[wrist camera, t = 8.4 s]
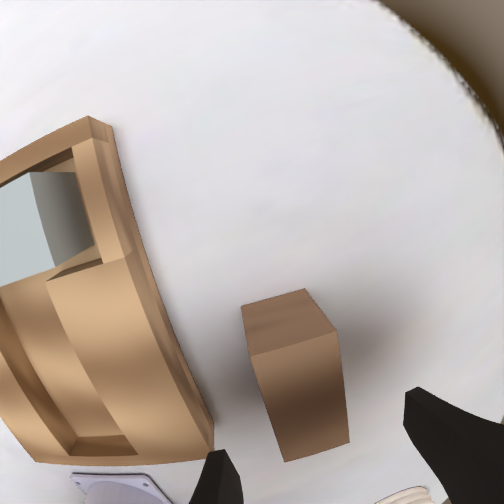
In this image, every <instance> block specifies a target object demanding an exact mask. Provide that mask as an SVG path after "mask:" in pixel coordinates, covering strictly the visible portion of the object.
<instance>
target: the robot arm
mask: <svg viewBox="0 0 504 504" xmlns="http://www.w3.org/2000/svg"><path fill="white" fill-rule="evenodd" d="M403 426H404V428H405V430H406V431H407V433H408V435H409V437H410V439H411V441H412V443H413V444H414V446H415V447H416V449H417V450H418V451H419V453H420V454H421V456H422V457H423V458H424V460H425V461H426V462H427V464H428V465H429V466H430V468H431V469H432V471H433V472H434V473H435V475H436V476H437V477H438V479H439V481H440V482H441V484H442V485H443V487H444V489H445V491H446V493H447V495H448V497H449V499H450V501H451V503H452V504H504V425H503V424H499V423H496V422H492V421H489V420H486V419H483V418H480V417H478V416H475V415H473V414H470V413H468V412H466V411H464V410H462V409H460V408H458V407H455V406H453V405H451V404H449V403H448V402H446V401H444V400H442V399H440V398H438V397H436V396H435V395H433V394H431V393H429V392H428V391H426V390H424V389H422V388H420V387H416V388H414V389H412V390H410V391H408V392H405V408H404V420H403ZM70 479H71V480H72V481H73V482H74V483H75V484H76V485H77V486H78V487H79V488H80V489H81V490H82V491H83V492H84V493H85V494H86V498H85V501H84V504H172V503H171V502H170V501H169V500H168V499H167V498H166V497H165V496H164V495H163V494H162V492H161V491H160V490H159V489H158V488H157V487H156V486H155V484H154V483H153V482H152V481H151V480H150V479H149V478H148V477H147V476H145V475H83V474H71V475H70ZM189 504H244V499H243V492H242V486H241V481H240V476H239V474H238V473H237V471H236V469H235V467H234V465H233V464H232V462H231V460H230V458H229V456H228V454H227V452H226V451H225V449H223V450H217V451H211V452H209V453H208V454H207V457H206V461H205V464H204V467H203V470H202V473H201V476H200V478H199V481H198V484H197V486H196V488H195V491H194V493H193V496H192V498H191V500H190V502H189Z"/></svg>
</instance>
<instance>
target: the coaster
mask: <svg viewBox="0 0 504 504" xmlns="http://www.w3.org/2000/svg"><path fill="white" fill-rule="evenodd" d="M375 504H435V502H433V501H432V499H431V496H430V495H429V494H428V491H427V490H426V489H425V488H423V487H414V488H409V489H406V490H403V491H400V492H398V493H395V494H393V495H391V496H389V497H387V498H385V499H383V500H381V501H379V502H377V503H375Z"/></svg>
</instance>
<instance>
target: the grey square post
mask: <svg viewBox="0 0 504 504" xmlns="http://www.w3.org/2000/svg"><path fill="white" fill-rule="evenodd" d="M93 245H95V244H94V241H93V238H92V235H91V232H90V228H89V225H88V222H87V218H86V215H85V211H84V208H83V204H82V200H81V197H80V193H79V189H78V185H77V181H76V177H75V172H29V173H27V174H25V175H23V176H21V177H19V178H17V179H16V180H14V181H12V182H10V183H8V184H7V185H5V186H3V187H1V188H0V287H1V286H4V285H7V284H10V283H12V282H15V281H18V280H21V279H23V278H26V277H29V276H32V275H35V274H38V273H41V272H43V271H46V270H49V269H52V268H55V267H57V266H59V265H60V264H62V263H64V262H65V261H67V260H69V259H70V258H72V257H74V256H76V255H77V254H79V253H81V252H83V251H84V250H86V249H88V248H90V247H91V246H93Z"/></svg>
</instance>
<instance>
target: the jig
mask: <svg viewBox="0 0 504 504" xmlns="http://www.w3.org/2000/svg"><path fill="white" fill-rule="evenodd" d="M29 172H75V177H76V181H77V185H78V189H79V193H80V197H81V200H82V204H83V208H84V211H85V215H86V218H87V222H88V225H89V228H90V232H91V235H92V238H93V241H94V244H95V245H93V246H91V247H90V248H88V249H86V250H84V251H83V252H81V253H79V254H77V255H76V256H74V257H72V258H70V259H69V260H67V261H65V262H64V263H62V264H60V265H59V266H57V267H55V268H52V269H49V270H46V271H43V272H41V273H38V274H35V275H32V276H29V277H26V278H23V279H21V280H18V281H15V282H12V283H10V284H7V285H4V286H1V287H0V417H1V418H2V420H3V421H4V423H5V424H6V425H7V427H8V428H9V430H10V431H11V432H12V434H13V435H14V436H15V437H16V439H17V440H18V441H19V443H20V444H21V445H22V446H23V448H24V449H25V450H26V451H27V453H28V454H29V455H30V456H31V457H32V458H33V460H34V461H35V462H40V463H50V464H61V465H78V466H136V465H153V464H166V463H176V462H185V461H193V460H200V459H206V457H207V454H208V453H209V452H211V451H214V422H213V420H212V418H211V416H210V414H209V412H208V410H207V408H206V406H205V403H204V401H203V399H202V397H201V395H200V393H199V390H198V388H197V386H196V384H195V382H194V379H193V377H192V375H191V372H190V370H189V368H188V365H187V363H186V361H185V358H184V356H183V354H182V351H181V349H180V346H179V344H178V341H177V339H176V336H175V334H174V331H173V329H172V326H171V324H170V321H169V318H168V316H167V313H166V310H165V308H164V305H163V302H162V300H161V297H160V294H159V291H158V288H157V286H156V283H155V280H154V277H153V274H152V271H151V268H150V265H149V262H148V259H147V256H146V253H145V250H144V247H143V244H142V241H141V237H140V234H139V231H138V227H137V224H136V221H135V217H134V214H133V210H132V207H131V203H130V200H129V196H128V192H127V189H126V185H125V181H124V177H123V173H122V169H121V165H120V161H119V157H118V153H117V149H116V144H115V140H114V135H113V131H112V126H110V125H107V124H105V123H103V122H101V121H99V120H97V119H94V118H92V117H90V116H86V117H83V118H81V119H79V120H77V121H75V122H72V123H70V124H68V125H66V126H64V127H62V128H60V129H58V130H56V131H54V132H52V133H50V134H48V135H46V136H44V137H42V138H40V139H38V140H36V141H34V142H33V143H31V144H29V145H27V146H25V147H23V148H22V149H20V150H18V151H16V152H15V153H13V154H11V155H10V156H8V157H6V158H5V159H3V160H1V161H0V188H1V187H3V186H5V185H7V184H8V183H10V182H12V181H14V180H16V179H17V178H19V177H21V176H23V175H25V174H27V173H29Z"/></svg>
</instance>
